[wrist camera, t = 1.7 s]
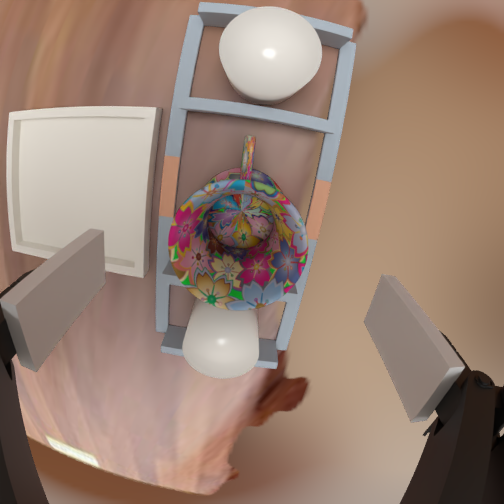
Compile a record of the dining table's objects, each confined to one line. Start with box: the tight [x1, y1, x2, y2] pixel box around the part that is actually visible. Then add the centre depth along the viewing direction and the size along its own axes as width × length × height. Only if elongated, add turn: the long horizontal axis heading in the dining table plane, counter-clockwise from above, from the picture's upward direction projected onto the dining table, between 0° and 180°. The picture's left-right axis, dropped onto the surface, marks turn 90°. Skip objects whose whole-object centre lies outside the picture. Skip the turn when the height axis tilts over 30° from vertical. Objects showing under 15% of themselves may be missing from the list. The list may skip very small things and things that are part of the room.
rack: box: [156, 2, 356, 369], centre depth 27 cm, size 16×35×4 cm, turn 170°
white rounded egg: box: [182, 297, 259, 379], centre depth 30 cm, size 7×7×8 cm
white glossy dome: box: [219, 7, 322, 105], centre depth 21 cm, size 7×7×8 cm
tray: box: [7, 106, 163, 278], centre depth 27 cm, size 19×17×2 cm
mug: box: [168, 135, 309, 311], centre depth 24 cm, size 12×9×11 cm
